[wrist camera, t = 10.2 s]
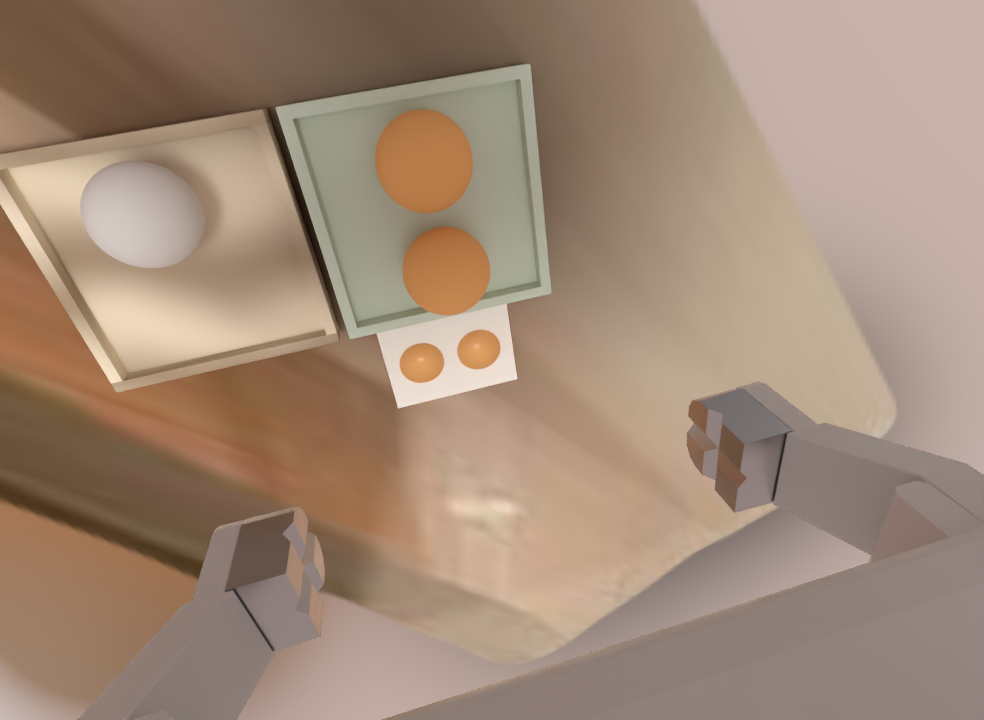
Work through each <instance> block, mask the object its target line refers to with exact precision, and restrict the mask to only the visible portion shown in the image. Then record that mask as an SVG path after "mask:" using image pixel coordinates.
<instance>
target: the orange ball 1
mask: <svg viewBox="0 0 984 720" xmlns="http://www.w3.org/2000/svg"><path fill="white" fill-rule="evenodd" d="M375 167H376V172H377V175H378V178H379V181H380V183H381V185H382V187H383V188H384V190H385V191H386V193H387V194H388V195H389V197H391V198H392V199H393V200H394V201H395V202H396V203H397V204H399V205H400V206H402V207H404V208H406V209H408V210H411V211H414V212H419V213H434V212H439V211H442V210H444V209H447V208H448V207H450V206H452V205H453V204H454V203H456V202H457V201H458V200H459V199H460V198H461V197H462V195H463V194H464V193H465V191H466V189H467V187H468V185H469V183H470V180H471V177H472V171H473V155H472V150H471V147H470V144H469V141H468V139H467V137H466V135H465V134H464V132H463V131H462V129H461V128H460V127H459V126H458V125H457V124H456V123H455V122H454V121H453V120H452V119H450V118H449V117H447V116H446V115H444V114H442V113H439V112H436V111H433V110H428V109H417V110H411V111H407V112H405V113H402V114H400V115H399V116H397V117H395V118H394V119H393V120H392V121H391V122H390V123H389V124H388V125H387V126H386V127H385V129H384V130H383V131H382V133H381V135H380V137H379V140H378V143H377V146H376V151H375Z"/></svg>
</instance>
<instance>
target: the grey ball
mask: <svg viewBox="0 0 984 720" xmlns="http://www.w3.org/2000/svg"><path fill="white" fill-rule="evenodd" d="M80 212H81V218H82V221H83V224H84V226H85V228H86V230H87V232H88V234H89V236H90V237H91V239H92V240H93V241H94V242H95V243H96V245H97V246H98V247H99V248H100V249H102V250H103V251H104V252H105V253H107V254H108V255H110V256H111V257H113V258H115V259H117V260H118V261H121V262H123V263H125V264H128V265H132V266H135V267H140V268H162V267H167V266H171V265H174V264H176V263H179V262H181V261H182V260H184V259H186V258H187V257H188V256H189V255H191V254H192V253H193V252H194V250H195V249H196V248H197V246H198V245H199V243H200V241H201V239H202V237H203V233H204V226H205V217H204V212H203V208H202V205H201V203H200V201H199V199H198V197H197V195H196V194H195V192H194V191H193V189H192V188H191V187H190V186H189V185H188V184H187V183H186V182H185V181H184V180H183V179H182V178H181V177H179V176H178V175H177V174H175V173H174V172H172V171H170V170H168V169H166V168H164V167H162V166H159V165H157V164H153V163H149V162H143V161H123V162H118V163H114V164H111V165H109V166H106V167H105V168H103V169H101V170H100V171H98V172H97V173H96V174H95V175H93V176H92V178H91V179H90V180H89V181H88V183H87V184H86V186H85V188H84V190H83V193H82V196H81V203H80Z"/></svg>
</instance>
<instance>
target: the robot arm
mask: <svg viewBox="0 0 984 720" xmlns="http://www.w3.org/2000/svg"><path fill="white" fill-rule="evenodd" d="M688 416H689V417H690V418H691V419H692V421H693V422H694V424H693V425H692V427H691V428H690V430H689V431H688V432H687V447H688V450H689V454H690V457H691V459H692V461H693V463H694V465H695V466H696V468H697V469H698V470H699V471H700V472H701V474H702V475H704V476H707V477H709V478H711V479H714V480H715V490H716V492H717V493H718V494H719V495H720V496H721V497H722V499H723V500H724V501H725V502H726V503H727V504H728V506H729V507H730V508H731V509H732V510H733V511H734V513H735V512H739V511H743V510H746V509H750V508H754V507H758V506H761V505H765V504H769V503H772V502H774V505H776V506H778V507H779V508H781V509H783V510H785V511H787V512H789V513H791V514H793V515H795V516H797V517H799V518H801V519H803V520H804V521H806V522H808V523H810V524H812V525H814V526H816V527H818V528H820V529H822V530H824V531H826V532H828V533H830V534H831V535H833V536H835V537H837V538H839V539H841V540H843V541H845V542H847V543H849V544H851V545H853V546H855V547H856V548H858V549H860V550H862V551H864V552H866V553H868V554H870V555H871V557H870V560H869V563H866V564H863V565H860V566H857V567H854V568H851V569H848V570H845V571H842V572H838V573H836V574H832V575H829V576H826V577H823V578H820V579H817V580H814V581H811V582H808V583H805V584H801V585H798V586H795V587H792V588H789V589H786V590H783V591H780V592H776V593H774V594H770V595H767V596H764V597H761V598H758V599H755V600H752V601H749V602H746V603H743V604H740V605H736V606H733V607H730V608H727V609H724V610H721V611H718V612H715V613H712V614H709V615H705V616H702V617H699V618H696V619H693V620H690V621H687V622H684V623H681V624H678V625H675V626H672V627H668V628H665V629H662V630H659V631H656V632H653V633H650V634H647V635H644V636H641V637H638V638H635V639H631V640H628V641H625V642H622V643H619V644H616V645H613V646H610V647H606V648H604V649H600V650H597V651H594V652H591V653H588V654H585V655H582V656H578V657H576V658H572V659H569V660H566V661H563V662H560V663H557V664H554V665H551V666H547V667H545V668H541V669H538V670H535V671H532V672H529V673H526V674H523V675H520V676H516V677H513V678H510V679H507V680H504V681H501V682H498V683H495V684H492V685H488V686H485V687H482V688H479V689H476V690H473V691H470V692H466V693H463V694H460V695H457V696H454V697H451V698H448V699H445V700H442V701H439V702H435V703H432V704H429V705H426V706H423V707H420V708H417V709H414V710H411V711H408V712H405V713H401V714H398V715H395V716H392V717H389V718H386V719H383V720H984V475H983V474H981V473H980V472H978V471H977V470H975V469H974V468H972V467H971V466H969V465H968V464H966V463H962V462H959V461H956V460H952V459H948V458H945V457H942V456H938V455H935V454H931V453H927V452H924V451H921V450H917V449H914V448H911V447H907V446H904V445H900V444H896V443H893V442H890V441H886V440H883V439H879V438H876V437H872V436H869V435H866V434H862V433H859V432H855V431H852V430H848V429H845V428H841V427H838V426H834V425H831V424H828V423H822V424H817V423H815V422H814V421H813V420H811V419H810V418H809V417H808V416H806V415H805V414H804V413H802V412H801V411H800V410H799V409H797V408H796V407H795V406H793V405H792V404H791V403H790V402H788V401H787V400H786V399H784V398H783V397H782V396H781V395H779V394H778V393H777V392H775V391H774V390H773V389H772V388H770V387H769V386H768V385H766V384H765V383H761V382H755V383H752V384H748V385H745V386H741V387H738V388H736V389H732V390H728V391H725V392H721V393H717V394H714V395H710V396H707V397H703V398H699V399H696V400H692V402H691V404H690V406H689V415H688ZM307 525H308V519H307V517H306V515H305V513H304V511H303V509H302V508H301V507H298V506H297V507H293V508H289V509H285V510H281V511H277V512H273V513H269V514H265V515H260V516H256V517H252V518H248V519H245V520H242V521H238V522H234V523H230V524H226V525H222V526H218V527H217V529H216V530H215V531H214V532H213V534H212V537H211V540H210V544H209V547H208V550H207V554H206V557H205V560H204V563H203V567H202V570H201V573H200V576H199V580H198V583H197V586H196V590H195V593H194V596H193V599H192V602H189V603H186V604H183V605H182V606H181V607H180V609H178V611H177V612H176V613H175V614H174V615H173V616H172V617H171V618H170V619H169V620H168V622H166V624H165V625H164V626H163V627H162V628H161V629H160V630H159V631H158V632H157V633H156V634H155V636H154V637H153V638H152V639H151V640H150V641H149V642H148V643H147V644H146V645H145V646H144V647H143V649H142V650H141V651H140V652H139V653H138V654H137V655H136V656H135V657H134V658H133V659H132V661H131V662H130V663H129V664H128V665H127V666H126V667H125V668H124V669H123V670H122V671H121V673H120V674H119V675H118V676H117V677H116V678H115V679H114V680H113V681H112V682H111V684H110V685H109V686H108V687H107V688H106V689H105V690H104V691H103V692H102V693H101V694H100V695H99V696H98V698H97V699H96V700H95V701H94V702H93V703H92V704H91V705H90V706H89V707H88V708H87V709H86V711H85V712H84V713H83V714H82V715H81V716H80V717H79V718H78V719H77V720H237V718H238V717H239V715H240V713H241V711H242V710H243V708H244V706H245V704H246V703H247V701H248V699H249V698H250V696H251V694H252V692H253V691H254V689H255V687H256V685H257V684H258V682H259V680H260V679H261V677H262V675H263V674H264V672H265V670H266V668H267V667H268V665H269V663H270V661H271V660H272V658H273V656H274V652H275V651H278V650H281V649H284V648H287V647H290V646H293V645H296V644H299V643H302V642H305V641H308V640H311V639H314V638H317V637H320V636H321V625H322V608H323V603H322V601H321V599H320V597H319V595H318V591H319V590H320V588H321V587H322V586H323V584H324V572H325V570H324V561H323V554H322V551H321V547H320V544H319V542H318V540H317V537H316V535H314V534H312V533H310V532H308V531H307Z"/></svg>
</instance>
